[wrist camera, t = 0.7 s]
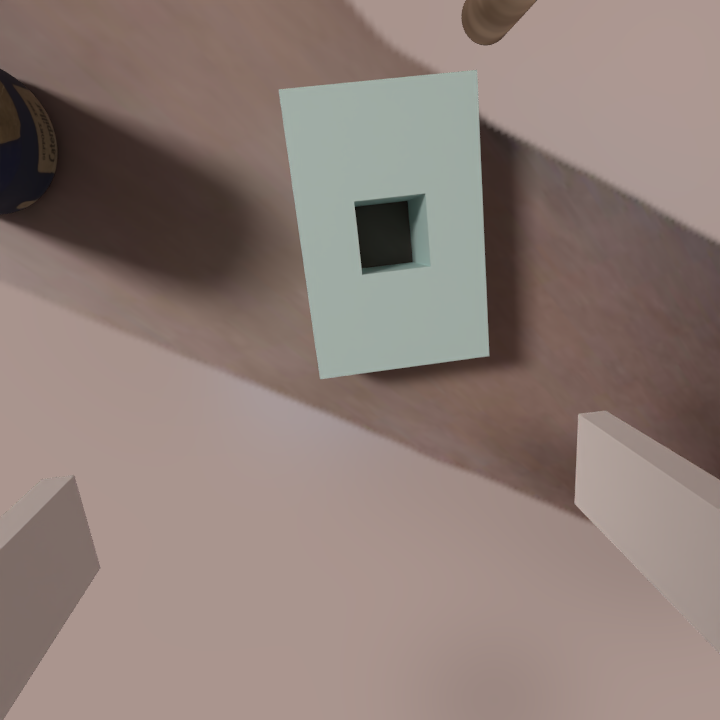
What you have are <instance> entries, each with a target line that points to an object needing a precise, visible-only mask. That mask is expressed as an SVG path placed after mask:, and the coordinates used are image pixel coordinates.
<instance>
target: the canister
mask: <svg viewBox="0 0 720 720" xmlns="http://www.w3.org/2000/svg"><path fill="white" fill-rule="evenodd" d="M57 156H58V155H57V141H56V136H55V132H54V129H53V125H52V123H51V121H50V119H49V117H48V115H47V113H46V111H45V110H44V108H43V107H42V105H41V103H40V102H39V101H38V100H37V98H36V97H35V96H34V95H33V94H32V93H31V92H30V91H29V90H28V89H27V88H26V87H25V86H24V85H23V84H22V83H21V82H19V81H18V80H17V79H15V78H14V77H13V76H11V75H10V74H8V73H7V72H5V71H3V70H2V69H0V214H8V213H12V212H16V211H19V210H21V209H24V208H26V207H28V206H30V205H31V204H33V203H34V202H36V201H37V200H38V199H39V198H40V197H41V196H42V195H43V194H44V193H45V192H46V190H47V189H48V187H49V185H50V183H51V181H52V179H53V177H54V174H55V171H56V166H57Z"/></svg>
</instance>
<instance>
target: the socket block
mask: <svg viewBox="0 0 720 720" xmlns="http://www.w3.org/2000/svg"><path fill="white" fill-rule="evenodd" d="M279 95H280V102H281V109H282V116H283V123H284V130H285V137H286V144H287V151H288V158H289V165H290V172H291V179H292V186H293V193H294V200H295V207H296V214H297V221H298V228H299V235H300V242H301V249H302V256H303V263H304V270H305V277H306V284H307V291H308V298H309V305H310V312H311V319H312V326H313V333H314V340H315V347H316V354H317V361H318V368H319V375H320V379H325V378H332V377H339V376H347V375H354V374H361V373H369V372H376V371H383V370H391V369H398V368H405V367H413V366H420V365H427V364H435V363H442V362H449V361H457V360H464V359H471V358H478V357H486V356H489V337H488V314H487V291H486V267H485V244H484V221H483V197H482V174H481V151H480V128H479V104H478V81H477V70H472V71H462V72H451V73H441V74H431V75H421V76H411V77H401V78H390V79H380V80H370V81H360V82H350V83H340V84H330V85H319V86H309V87H299V88H289V89H279ZM402 201H408V212H409V224H410V236H411V248H412V260H413V262H409V263H401V264H393V265H385V266H376V267H368V268H361V259H360V250H359V241H358V232H357V223H356V214H355V207H358V206H367V205H376V204H384V203H393V202H402Z"/></svg>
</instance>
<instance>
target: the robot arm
mask: <svg viewBox="0 0 720 720" xmlns="http://www.w3.org/2000/svg"><path fill="white" fill-rule="evenodd" d="M575 505H576V506H577V507H578V508H579V509H580V510H581V511H582V512H583V513H584V514H585V515H586V516H587V517H588V518H589V519H590V520H591V521H592V522H593V523H594V524H595V525H596V526H597V527H598V529H599V530H600V531H601V532H602V533H604V535H605V536H606V537H607V538H608V539H609V540H610V541H611V542H612V543H613V544H614V545H615V546H616V547H617V548H618V549H619V550H620V551H621V552H622V553H623V554H624V555H625V556H626V558H628V560H629V561H630V562H631V563H632V564H633V565H634V566H635V567H636V568H637V569H638V570H639V571H640V572H641V573H642V574H643V575H644V576H645V577H646V578H647V579H648V580H649V581H650V582H651V583H652V584H653V585H654V587H655V588H656V589H657V590H658V591H659V592H660V593H661V594H662V595H663V596H664V597H665V598H666V599H667V600H668V601H669V602H670V603H671V604H672V605H673V606H674V607H675V608H676V609H677V610H678V611H679V612H680V614H681V615H682V616H683V617H684V618H685V619H686V620H687V621H688V622H689V623H690V624H691V625H692V626H693V627H694V628H695V629H696V630H697V631H698V632H699V633H700V634H701V635H702V636H703V637H704V638H705V639H706V640H707V641H708V643H710V645H711V646H712V647H713V648H714V649H715V650H716V651H717V652H718V653H719V654H720V480H719V479H717V478H716V477H714V476H712V475H711V474H709V473H707V472H706V471H704V470H703V469H701V468H699V467H698V466H696V465H694V464H693V463H691V462H689V461H688V460H686V459H684V458H683V457H681V456H679V455H678V454H676V453H675V452H673V451H671V450H670V449H668V448H666V447H665V446H663V445H661V444H660V443H658V442H656V441H655V440H653V439H651V438H650V437H648V436H647V435H645V434H643V433H642V432H640V431H638V430H637V429H635V428H633V427H632V426H630V425H628V424H627V423H625V422H623V421H622V420H620V419H619V418H617V417H615V416H614V415H612V414H610V413H609V412H607V411H599V412H591V413H582V414H578V436H577V459H576V482H575ZM99 569H100V565H99V561H98V558H97V554H96V551H95V547H94V544H93V540H92V536H91V533H90V529H89V526H88V522H87V519H86V516H85V512H84V508H83V504H82V501H81V497H80V494H79V491H78V487H77V483H76V480H75V476H74V475H72V476H63V477H55V478H47V479H42V480H41V481H40V482H39V483H37V484H36V485H35V486H34V487H33V488H32V489H31V490H30V491H29V492H28V493H26V494H25V495H24V496H23V497H22V498H21V499H20V500H19V501H18V502H16V503H15V504H14V505H13V506H12V507H11V508H10V509H9V510H8V511H6V512H5V513H4V514H3V515H2V516H1V517H0V720H3V719H4V718H5V716H6V714H7V713H8V711H9V710H10V708H11V707H12V705H13V704H14V702H15V700H16V699H17V697H18V696H19V694H20V693H21V691H22V690H23V688H24V686H25V685H26V683H27V682H28V680H29V679H30V677H31V675H32V674H33V672H34V671H35V669H36V668H37V666H38V665H39V663H40V661H41V660H42V658H43V657H44V655H45V654H46V652H47V650H48V649H49V647H50V646H51V644H52V643H53V641H54V639H55V638H56V636H57V635H58V633H59V632H60V630H61V629H62V627H63V625H64V624H65V622H66V621H67V619H68V618H69V616H70V614H71V613H72V611H73V610H74V608H75V607H76V605H77V604H78V602H79V600H80V599H81V597H82V596H83V594H84V593H85V591H86V589H87V588H88V586H89V585H90V583H91V582H92V580H93V579H94V577H95V575H96V574H97V572H98V571H99Z"/></svg>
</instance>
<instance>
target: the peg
mask: <svg viewBox="0 0 720 720" xmlns="http://www.w3.org/2000/svg"><path fill="white" fill-rule="evenodd" d="M536 1H537V0H466V1H465V3H464V6H463V9H462V25H463V28H464V30H465V33H466V34H467V36H468V37H469V38H470V39H471V40H472V41H474V42H475V43H477V44H480V45H491V44H494V43H496V42H498V41H499V40H501V39H502V37H504V36H505V34H506V33H507V32H508V31H509V30H510V29H511V28H512V27H513V26H514V25H515V24H516V22H517V21H518V20H519V19H520V18H521V17H522V16H523V15H524V14H525V13H526V12H527V11H528V9H530V7H531V6H532V5H533V4H534V3H535V2H536Z"/></svg>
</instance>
